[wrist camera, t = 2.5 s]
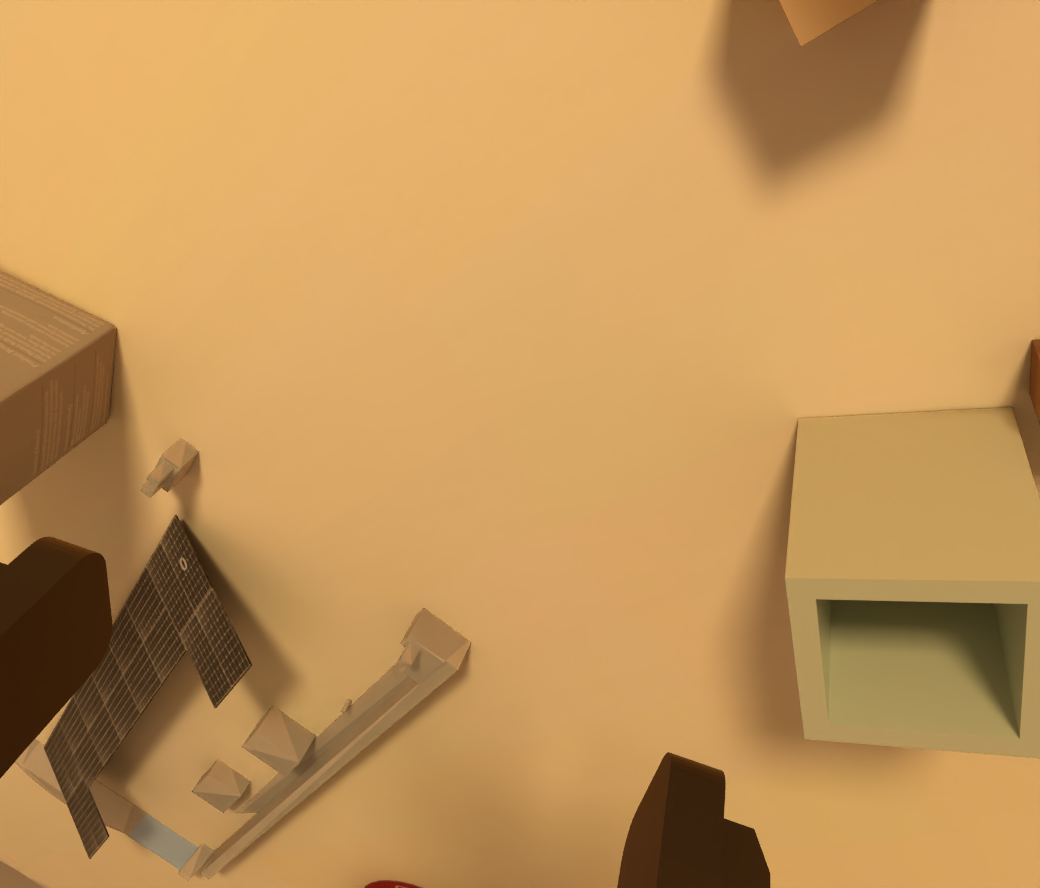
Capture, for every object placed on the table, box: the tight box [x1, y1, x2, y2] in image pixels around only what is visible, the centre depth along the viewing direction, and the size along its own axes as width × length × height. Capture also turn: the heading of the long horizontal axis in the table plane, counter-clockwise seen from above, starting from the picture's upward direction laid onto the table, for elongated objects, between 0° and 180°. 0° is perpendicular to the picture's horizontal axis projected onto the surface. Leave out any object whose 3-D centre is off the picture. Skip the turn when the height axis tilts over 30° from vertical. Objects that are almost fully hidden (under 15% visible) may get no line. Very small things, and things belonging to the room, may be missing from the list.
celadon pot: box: [785, 407, 1040, 759], centre depth 29 cm, size 7×7×9 cm
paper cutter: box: [15, 438, 471, 881], centre depth 56 cm, size 18×45×6 cm, turn 145°
